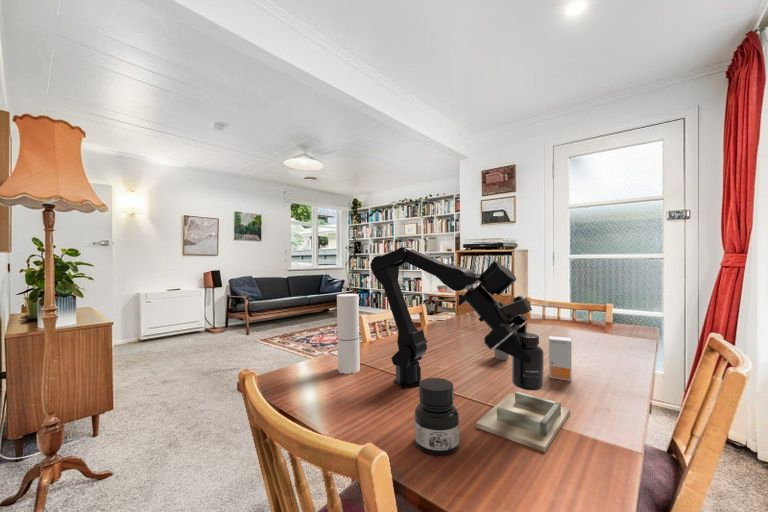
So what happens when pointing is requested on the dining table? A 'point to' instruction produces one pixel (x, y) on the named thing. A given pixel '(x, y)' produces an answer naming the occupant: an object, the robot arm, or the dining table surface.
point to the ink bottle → (436, 417)
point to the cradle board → (525, 420)
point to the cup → (500, 354)
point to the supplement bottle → (528, 373)
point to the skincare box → (560, 358)
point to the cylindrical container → (348, 333)
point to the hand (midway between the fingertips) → (533, 358)
